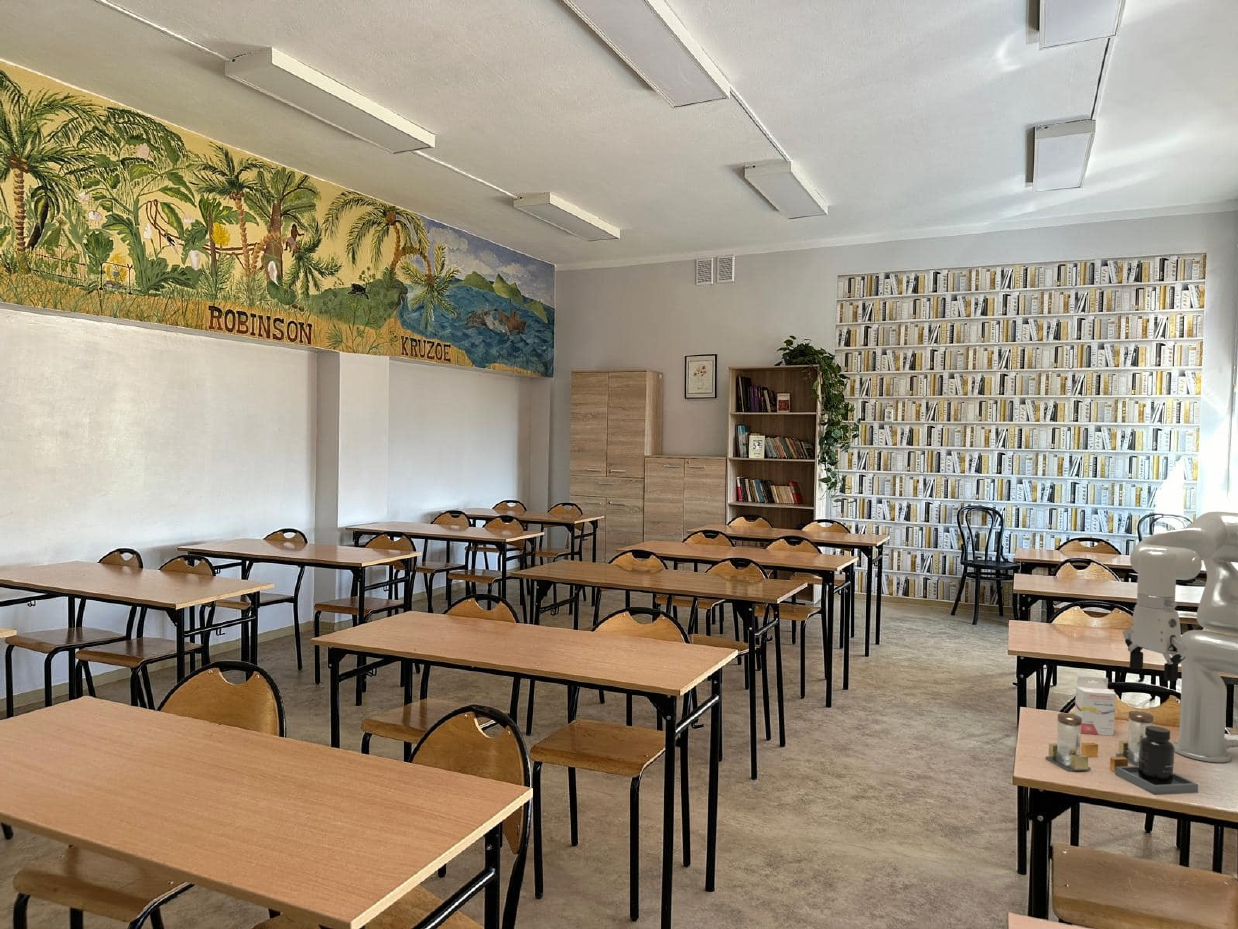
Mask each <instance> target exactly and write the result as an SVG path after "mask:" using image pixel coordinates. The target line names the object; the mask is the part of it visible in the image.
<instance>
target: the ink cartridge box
mask: <svg viewBox="0 0 1238 929" xmlns="http://www.w3.org/2000/svg"><path fill="white" fill-rule="evenodd" d="M1091 681H1094V683H1093V682H1091ZM1095 682H1097V683H1095ZM1108 685H1109V677H1099V676H1084V675H1083V676H1082V675H1079V676H1077V681H1076V687H1075V699H1074V701H1075V702H1074V704H1075V705H1074V715H1077V716H1079V717H1081V718H1082V724H1081V734H1085V735H1087V734H1089V735H1099V736H1100V735H1101V736H1114V732H1115V715H1116V713H1115V712H1116V699H1117V698H1116V697H1117V693H1116V692H1114V691H1112V690H1111V689H1109V688H1108Z"/></svg>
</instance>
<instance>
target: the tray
mask: <svg viewBox="0 0 1238 929" xmlns="http://www.w3.org/2000/svg"><path fill="white" fill-rule="evenodd" d="M1114 774H1115V776H1118V777H1119V778H1122V779H1124V780H1125V781H1127V782H1130V783H1131V784H1132V785H1135V786H1137V787H1139V788H1141V789H1142V790H1145V791H1147V792H1148V793H1150V794H1152V795H1168V794H1169V795H1170V794H1187V793H1191V794H1192V793H1198V792H1199V791H1198V790H1199V784H1198V783H1196V782H1194V781H1192V780H1191V779H1190V780H1189V779H1188V778H1185V777H1183V776H1181V775H1179V774H1177V773H1175V772H1173V782H1172V783H1171V784H1167V785H1158V784H1153V783H1150V782H1148V781H1146V780H1144V779H1142V778H1140V777H1139V776H1138V766H1136V765H1129V766H1124V767H1116V768H1115V772H1114Z"/></svg>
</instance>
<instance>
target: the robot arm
mask: <svg viewBox="0 0 1238 929" xmlns="http://www.w3.org/2000/svg"><path fill="white" fill-rule="evenodd" d="M1202 560H1203V563H1202ZM1129 563H1130V566H1131V568H1132V570H1134V571H1135V572H1136V573H1137V587H1136V588H1137V589H1136V590H1137V591H1136V592H1137V593H1136V594H1137V595H1136V604H1135V606H1134V610H1133V614H1132V619H1131V628H1127V629H1125V630H1123V631H1122V635H1123V637H1124V640H1125V641H1124V642H1125V645H1126V646H1127V651H1128V652H1129V653H1130V654H1129V670H1142V669H1143V667H1144V652H1143V649H1144V650H1147V651H1150V652H1155V653H1157V654H1162V657H1163V658H1164V659H1165V662H1164V666H1163V667H1164V668H1163V680H1164V681H1166V682H1176V681H1178V679H1179V665H1181V666H1180V668H1181V685H1180V686H1181V687H1180V689H1181V691H1180V711H1179V730H1178V731H1179V734H1178V740H1175V741H1172V742H1171V743H1172V744H1173V746H1174V753H1177V754H1178V755H1181V756H1184V757H1187V758H1188V759H1189V758H1190V759H1193V760H1199V761H1202V762H1209V763H1228V762H1230V761H1231V760H1232V754H1231V752H1229V751H1228V750H1229V749H1230V748H1238V740H1237V739H1228V738H1226V737H1225V734H1226V713H1227V712H1226V711H1227V694H1228V692H1227V691H1228V690H1227V686H1226V684H1225V682H1224V680H1223V679H1222V677H1221V676H1220V674H1219V673H1224V674H1228V675H1234V676H1238V569H1237V568H1236V566H1234V564H1233V563H1235V564H1238V512H1229V511H1228V512H1227V511H1210V512H1206V513H1205V512H1204V513H1202V514H1201V515H1200V516H1198V517H1197V518H1196V519H1194V520H1193V521H1192V522H1191V523H1189V524H1188V525H1187V526H1186V527H1184V528H1183V527H1182V528H1178V529H1177V528H1176V529H1173V530H1168V531H1164V532H1163V531H1162V532H1158V533H1155V534H1151V535H1149V536H1147V537H1145V538H1143V539H1142V540H1141V541H1139V542H1138V543H1137V544H1136V545H1135V546H1134V548H1132V551H1131V554H1130V558H1129ZM1203 565H1204V568H1205V572H1206V581H1205V585H1204V587H1203V591H1202V595H1201V597H1200V600H1199V604H1198V607H1197V612H1196V622H1197V624H1198V625H1199V626H1200V627H1202V628H1203V629H1206V630H1201V629H1192V630H1187V631H1186V632H1184V633H1181V632H1182V630H1181V622H1180V616H1179V612H1178V610H1176V608H1177V606H1178V602H1177V601H1176V585H1177V584H1176V583H1177V580H1180V581H1189V580H1193V579H1195V578H1196V577H1197V576H1198V575H1199V574H1200V572H1201V571H1202V566H1203ZM1208 630H1209V631H1208Z"/></svg>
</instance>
